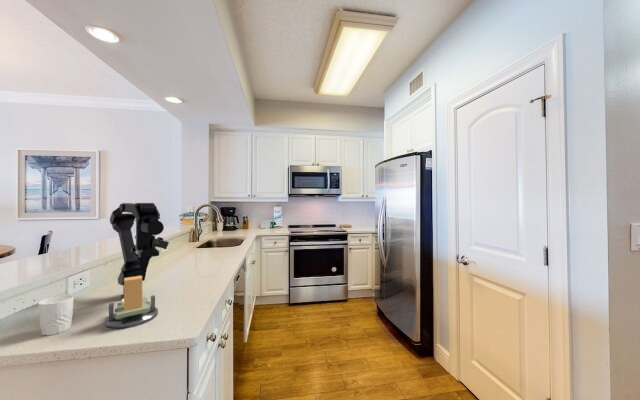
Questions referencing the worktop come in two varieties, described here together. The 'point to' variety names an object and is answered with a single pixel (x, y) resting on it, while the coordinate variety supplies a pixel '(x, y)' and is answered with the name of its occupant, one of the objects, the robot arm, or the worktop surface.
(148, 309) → the orange and green block
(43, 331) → the white cup
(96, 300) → the worktop surface
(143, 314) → the base
